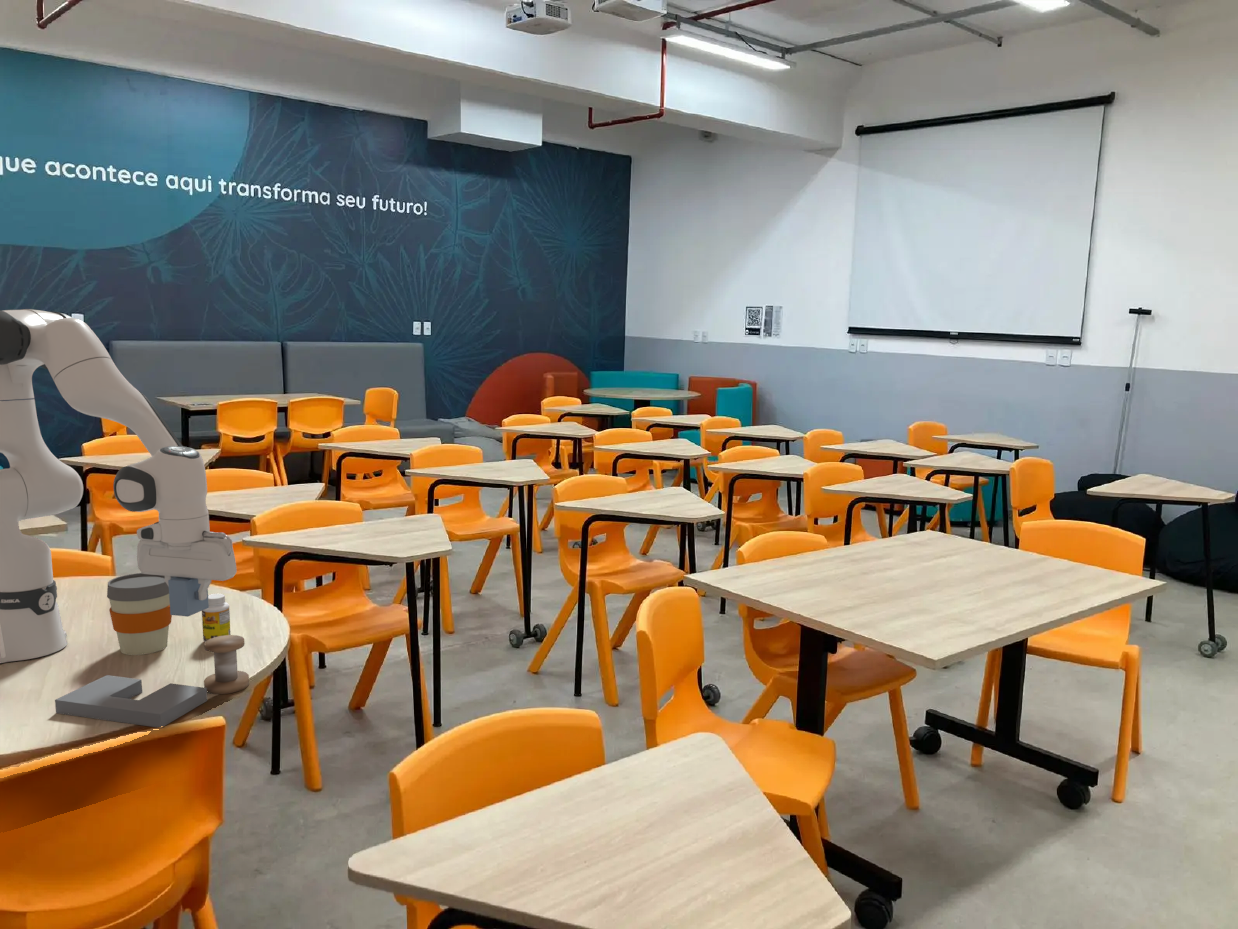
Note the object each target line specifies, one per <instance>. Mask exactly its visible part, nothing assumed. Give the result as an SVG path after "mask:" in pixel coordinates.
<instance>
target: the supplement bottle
mask: <svg viewBox="0 0 1238 929" xmlns="http://www.w3.org/2000/svg"><path fill="white" fill-rule="evenodd" d="M225 596H226V595H225V594H224V593H211V594H208V603H209V608H207V609H204V610H202V611H201V620H202V637H203V638H202V639H203V642H204V643H205V642H206V641H207V640H209V639H211V638H214V637H219V636H225V635H232V633H231V616H230V614H231V613H230V604H229V603H228V602H227V601H226V597H225Z"/></svg>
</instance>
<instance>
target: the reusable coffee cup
mask: <svg viewBox="0 0 1238 929" xmlns="http://www.w3.org/2000/svg"><path fill="white" fill-rule="evenodd" d="M106 592H107V593H106V598H107V599H108V600H109V604H110V608H109V615H110V618H111V619H110V620H111V624H112V629H113V631H115V632H116V637H117V641H118V647H119V650H120V653H122V654H123V655H128V656H142V655H149V654H153V653H157V652H160V651H163V650H164V649H165V648H166V647H167V646H168V642H169V641H168V640H169V638H168V637H169V631H170V630H169V628H170V627H169V626H170V625H171V623H172V616H173V615H170V600H169V587H168V585H167V583H166V582H165V576H162V575H151V574H142V573H141V572H137V573H136V572H135V573H130V574H125V575H120V576H117V577H114V578H112V579H110V580H109V581H108V582H107V591H106Z"/></svg>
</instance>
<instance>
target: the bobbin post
mask: <svg viewBox="0 0 1238 929" xmlns="http://www.w3.org/2000/svg"><path fill="white" fill-rule="evenodd" d="M245 644H246V643H245V638H244V637H243V636H241V635H235V634H231V635H225V636H219V637H214V638H211V639H209V640H207V641H206V642H204V650H205V651H206V652H209V653H213V663H214V673H213V674H210V675H209V676H207V677H205V678H204V679H203V688H207V691H208V692H210V693H209V694H211V693H212V694H213V695H226V694H227V695H228V694H232V693H236V692H239V691H242V690H244V689H246V688H247V687H248V686H249V685H250V675H249V674H248V673H247V672H245V671H241V670H238V656H237V653H238V652H237V651H238V650H240V649H242V648H243V647H245ZM208 692H207V693H208Z"/></svg>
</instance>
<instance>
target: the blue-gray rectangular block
mask: <svg viewBox="0 0 1238 929" xmlns="http://www.w3.org/2000/svg"><path fill="white" fill-rule="evenodd" d="M168 585H169V600H170V615H172V616H179V617H191V616H193V615H195V614H197V613H200V612H202V610H204V609H207V608H209V603H208V595H209V590H208V589H209V588H208V589H207V598H206V599H204V600H196V599H195V595H194V592H195V591H198V590H199V588H200V585H201V584H199V583H198V579H196V578H185V577H175V578H173V579H170V580H168Z"/></svg>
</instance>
